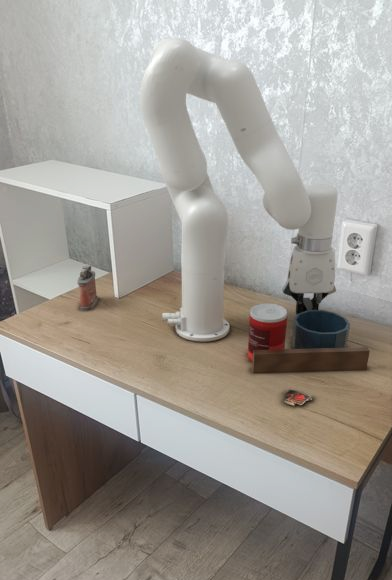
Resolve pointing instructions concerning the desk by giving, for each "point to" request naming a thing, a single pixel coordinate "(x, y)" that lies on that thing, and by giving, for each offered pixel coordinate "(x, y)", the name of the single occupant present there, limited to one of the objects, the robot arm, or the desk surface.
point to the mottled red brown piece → (296, 397)
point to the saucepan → (319, 328)
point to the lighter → (87, 288)
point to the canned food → (266, 328)
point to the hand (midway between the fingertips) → (306, 316)
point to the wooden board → (310, 359)
